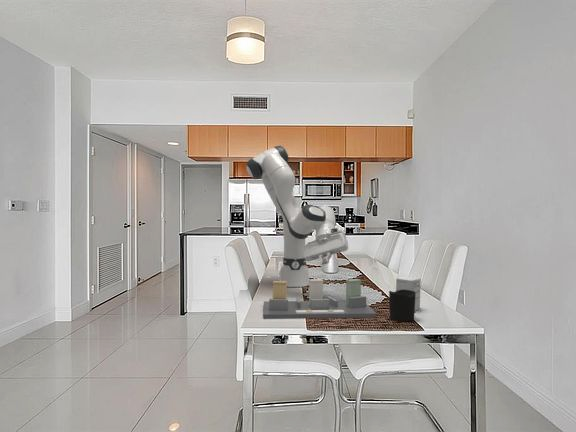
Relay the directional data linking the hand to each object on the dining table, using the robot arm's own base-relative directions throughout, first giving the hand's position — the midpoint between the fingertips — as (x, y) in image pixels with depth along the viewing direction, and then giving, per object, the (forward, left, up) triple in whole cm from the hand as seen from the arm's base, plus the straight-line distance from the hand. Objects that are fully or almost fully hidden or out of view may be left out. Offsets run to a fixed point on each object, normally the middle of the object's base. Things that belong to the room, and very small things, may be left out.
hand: (325, 263), depth 183 cm
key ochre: (+13, -20, -15) cm, 28 cm away
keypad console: (+12, -5, -17) cm, 21 cm away
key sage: (+10, +10, -15) cm, 21 cm away
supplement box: (+10, +32, -17) cm, 38 cm away
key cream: (+9, -5, -15) cm, 19 cm away
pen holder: (+24, +25, -17) cm, 39 cm away
